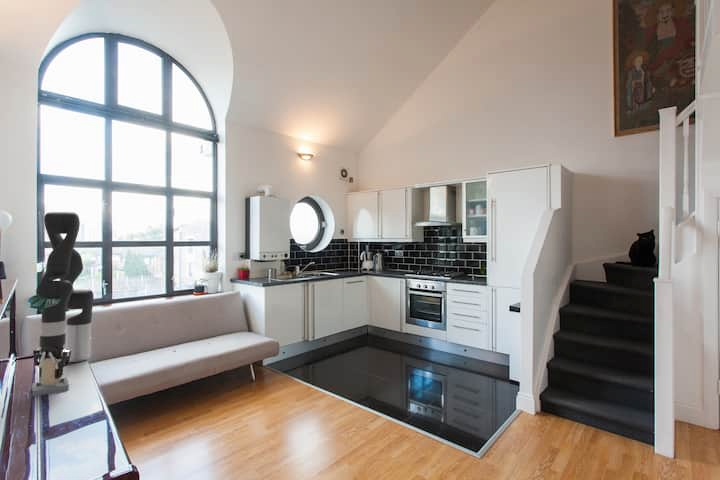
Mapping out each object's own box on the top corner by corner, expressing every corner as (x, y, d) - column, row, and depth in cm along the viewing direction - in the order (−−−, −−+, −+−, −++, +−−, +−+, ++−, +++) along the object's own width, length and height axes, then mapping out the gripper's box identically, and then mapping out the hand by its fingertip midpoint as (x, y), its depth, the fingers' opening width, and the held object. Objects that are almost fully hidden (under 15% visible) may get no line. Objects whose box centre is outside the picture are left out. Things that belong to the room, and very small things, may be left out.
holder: (32, 388, 135) (32, 383, 135) (66, 382, 142) (66, 377, 142) (32, 396, 128) (33, 391, 128) (68, 389, 135) (68, 384, 135)
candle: (37, 384, 134) (38, 357, 134) (54, 379, 139) (55, 353, 139) (46, 386, 132) (47, 359, 132) (63, 381, 137) (64, 355, 137)
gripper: (78, 331, 139) (77, 375, 138) (45, 329, 140) (43, 372, 140) (60, 336, 131) (58, 382, 131) (26, 334, 133) (23, 379, 132)
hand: (50, 377), depth 135 cm, fingers closed on candle, 5 cm apart
